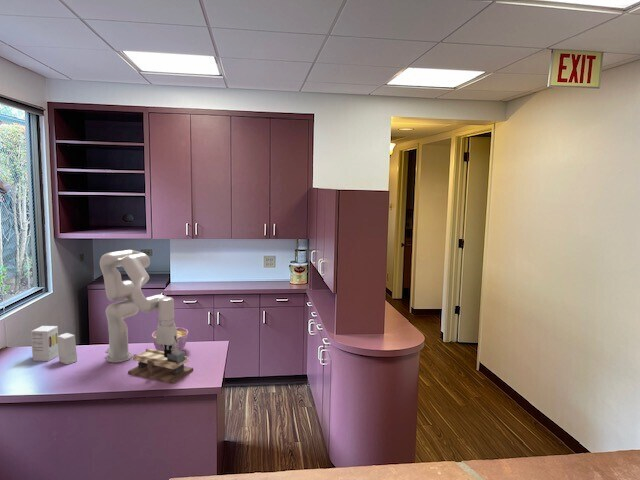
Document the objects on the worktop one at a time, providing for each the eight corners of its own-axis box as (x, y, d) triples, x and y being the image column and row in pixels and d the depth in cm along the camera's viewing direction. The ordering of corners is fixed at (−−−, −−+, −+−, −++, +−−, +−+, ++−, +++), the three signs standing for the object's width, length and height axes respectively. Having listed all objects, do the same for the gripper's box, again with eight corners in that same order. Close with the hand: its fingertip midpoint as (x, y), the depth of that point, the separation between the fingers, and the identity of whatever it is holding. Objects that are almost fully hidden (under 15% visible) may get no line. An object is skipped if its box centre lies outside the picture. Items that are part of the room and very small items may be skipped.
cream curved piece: (130, 361, 219) (130, 356, 219) (150, 351, 232) (150, 346, 231) (172, 370, 210) (172, 365, 210) (189, 360, 223) (189, 355, 222)
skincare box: (77, 361, 233) (76, 335, 231) (66, 365, 228) (64, 338, 226) (69, 357, 237) (67, 331, 235) (57, 361, 232) (56, 335, 230)
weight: (167, 362, 216) (167, 353, 215) (175, 357, 221) (175, 349, 220) (177, 364, 213) (177, 355, 213) (184, 359, 219) (184, 351, 218)
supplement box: (49, 361, 232) (47, 331, 230) (32, 361, 232) (30, 331, 230) (60, 354, 241) (58, 325, 239) (43, 354, 242) (42, 325, 239)
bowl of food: (177, 360, 236) (176, 340, 234) (144, 357, 240) (144, 337, 238) (195, 347, 255) (194, 328, 254) (164, 344, 259) (164, 326, 258)
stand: (128, 373, 219) (127, 356, 218) (150, 361, 234) (150, 345, 233) (172, 383, 209) (172, 365, 208) (193, 370, 224) (192, 353, 223)
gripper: (149, 322, 215) (150, 356, 218) (173, 325, 210) (174, 361, 213) (159, 317, 222) (161, 351, 225) (183, 321, 217) (184, 356, 220)
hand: (167, 356), depth 219 cm, fingers closed
